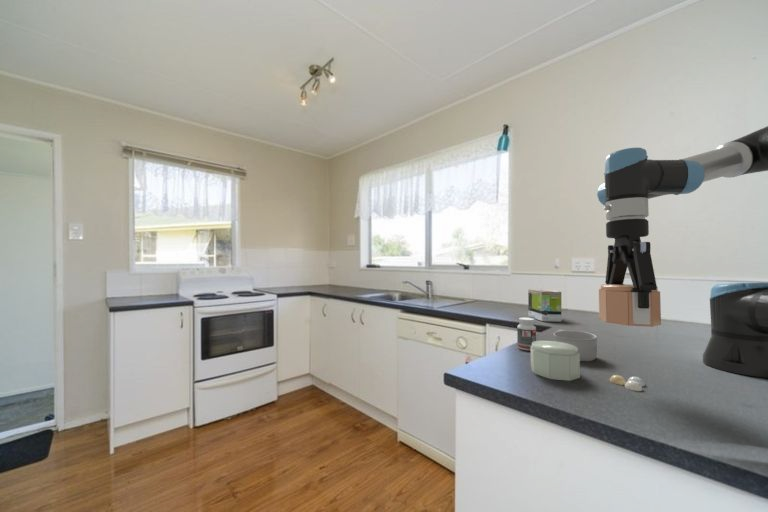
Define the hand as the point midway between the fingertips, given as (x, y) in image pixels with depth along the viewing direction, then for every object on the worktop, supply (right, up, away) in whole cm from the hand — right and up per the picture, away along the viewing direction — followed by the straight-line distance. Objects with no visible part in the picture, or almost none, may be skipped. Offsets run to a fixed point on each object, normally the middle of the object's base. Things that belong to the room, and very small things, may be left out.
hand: (628, 319), depth 69 cm
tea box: (+27, -18, +89) cm, 94 cm away
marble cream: (-1, -14, -2) cm, 15 cm away
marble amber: (-2, -14, +1) cm, 15 cm away
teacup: (+1, -17, +22) cm, 28 cm away
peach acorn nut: (0, -1, 0) cm, 1 cm away
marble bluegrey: (+2, -14, 0) cm, 15 cm away
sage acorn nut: (-13, -16, +7) cm, 22 cm away
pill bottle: (-7, -17, +34) cm, 38 cm away
